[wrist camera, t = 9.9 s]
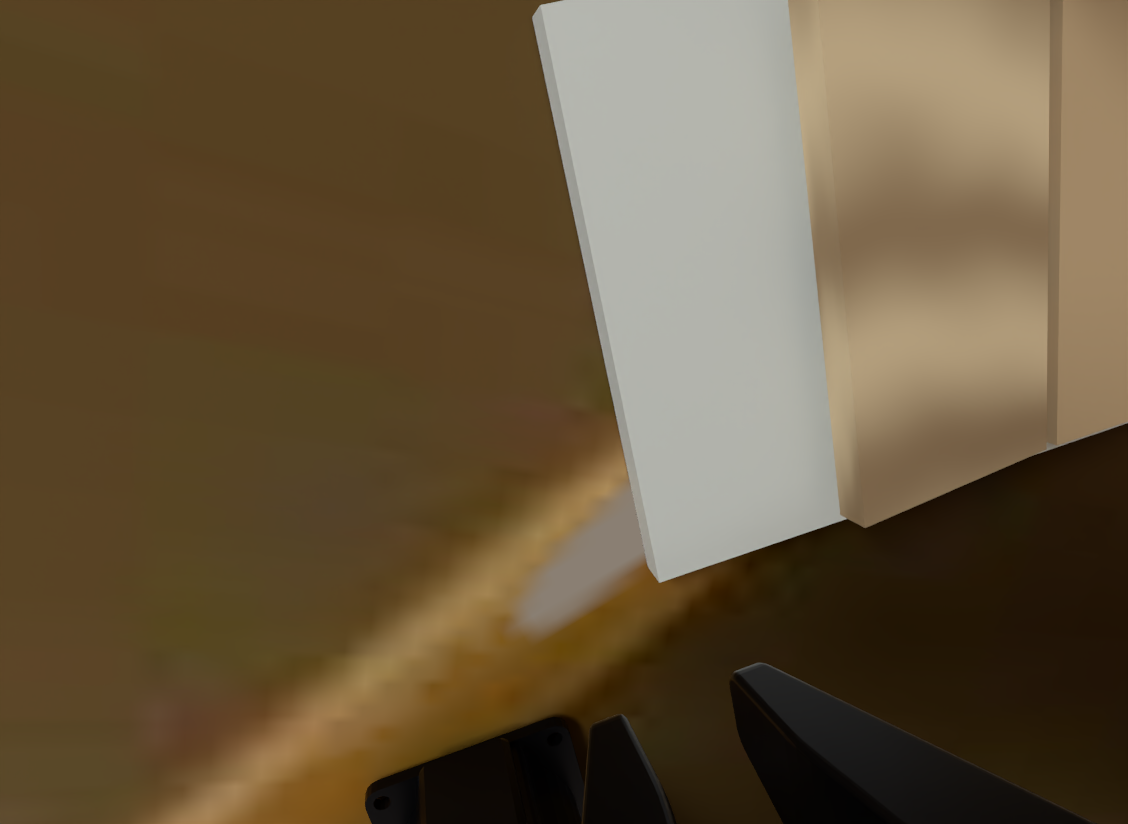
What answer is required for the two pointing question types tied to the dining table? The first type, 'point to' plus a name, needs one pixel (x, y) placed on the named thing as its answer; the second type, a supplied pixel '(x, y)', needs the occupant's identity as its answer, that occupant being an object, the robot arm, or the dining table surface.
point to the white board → (782, 255)
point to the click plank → (927, 237)
